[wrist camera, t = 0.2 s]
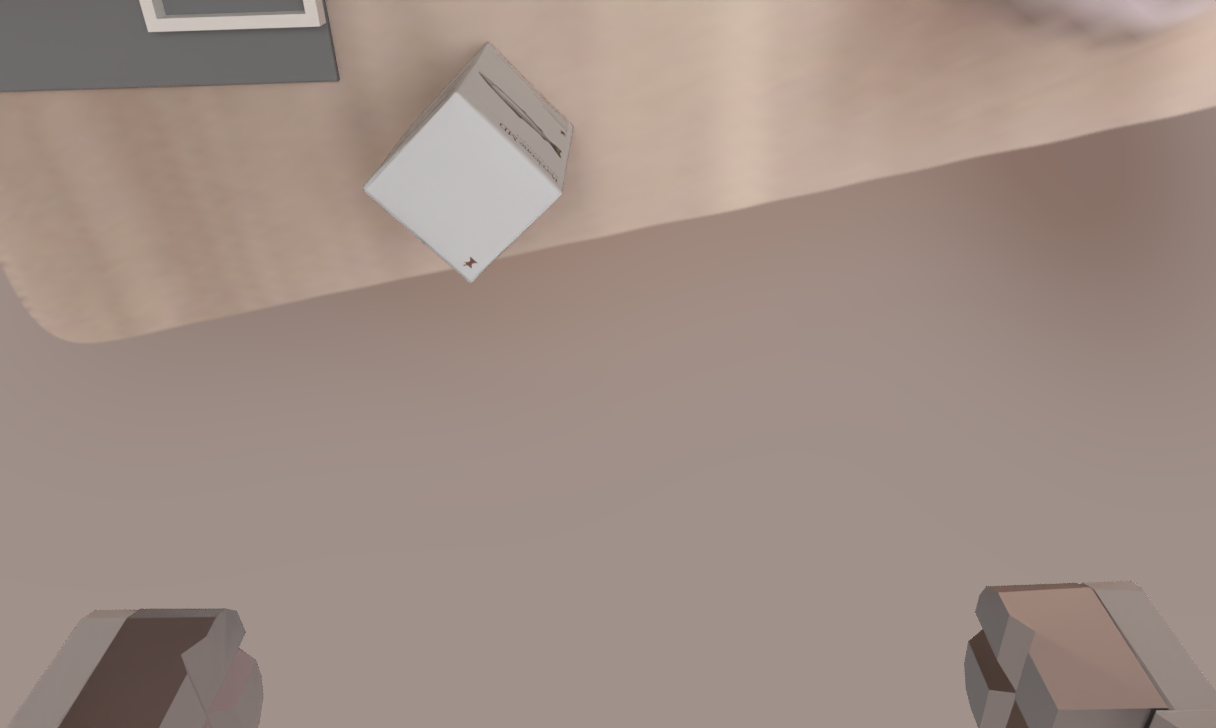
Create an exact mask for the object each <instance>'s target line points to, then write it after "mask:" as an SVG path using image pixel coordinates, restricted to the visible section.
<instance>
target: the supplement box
mask: <svg viewBox="0 0 1216 728" xmlns="http://www.w3.org/2000/svg"><path fill="white" fill-rule="evenodd" d="M572 132H573V126H572V125H571V124H570V123H569V122H568V121H567V120H566V119H565V118H564V117H562V116H561V115H560V114H559V113H558V112H557V111H556V110H555V109H554V108H553V107H552V106H551V105H550V104H549V103H548V102H547V101H546V100H545V99H544V98H543V97H541V96H540V94H539V93H538V92H537V91H536V90H535V89H534V88H533V87H532V86H531V85H530V84H529V83H528V82H527V81H526V80H525V79H524V78H523V77H522V76H521V75H520V74H519V73H518V72H517V71H516V70H515V69H514V68H513V67H512V66H511V65H510V64H509V63H508V61H507V60H506V59H505V58H504V57H503V56H502V55H501V54H500V53H499V52H498V51H497V50H496V48H495V47H494V46H493V45H492V44H491V43H490V42H487V43H486V44H485V45H484V46H483V47H482V48H481V50H480V51H479V52H478V53H477V54H476V55H475V56H474V57H473V58H472V59H471V60H470V62H469V63H468V64H467V65H466V66H465V67H464V68H463V69H462V70H461V71H460V72H459V73H458V74H457V75H456V77H455V78H454V79H453V80H452V81H451V82H450V83H449V84H448V85H447V86H446V87H445V89H444V90H443V91H442V92H441V93H440V94H439V95H438V96H437V97H436V98H435V100H434V101H433V102H432V103H431V104H430V105H429V106H428V107H427V109H426V110H425V111H424V112H423V113H422V114H421V115H420V116H419V118H418V119H417V120H416V121H415V122H414V123H413V124H412V126H411V127H410V128H409V130H408V131H407V132H406V133H405V134H404V135H403V137H402V138H401V139H400V141H399V142H398V143H397V145H396V146H395V147H394V149H393V150H392V151H391V152H390V154H389V155H388V157H387V158H386V159H385V161H384V162H383V163H382V164H381V166H380V167H379V168H378V170H377V171H376V172H375V173H374V175H373V176H372V177H371V178H370V179H369V180H368V181H367V182H366V183H365V184H364V186H363V190H364V191H365V193H366V194H367V195H368V196H370V197H371V198H372V199H373V200H374V201H375V202H377V203H378V204H379V205H380V206H381V207H383V208H384V209H385V210H386V211H387V212H388V213H389V214H391V215H392V216H393V217H394V218H395V219H396V220H398V221H399V222H400V223H401V224H402V225H403V226H405V227H406V228H407V229H408V230H409V231H410V232H411V233H412V234H414V235H415V236H416V237H417V238H418V239H419V240H420V241H421V242H422V243H423V244H425V245H426V246H428V247H429V248H430V249H431V250H432V251H433V252H435V253H436V254H437V255H438V256H439V257H440V258H442V259H443V260H444V261H445V262H446V263H447V264H448V265H450V266H451V267H452V268H453V269H454V270H455V271H456V272H458V273H459V274H460V275H461V276H462V277H463V278H464V279H465V280H466V281H468V282H469V283H472V282H473V281H474V280H475V279H476V278H477V277H478V276H479V275H480V274H481V273H482V272H483V271H484V270H485V269H486V268H487V267H488V266H489V265H490V264H491V263H492V262H493V261H494V260H495V259H496V258H497V257H498V256H499V255H500V254H501V253H502V252H503V251H504V250H505V249H506V248H507V247H508V246H509V245H510V244H511V243H512V242H513V241H514V240H516V239H517V238H518V237H519V236H520V235H521V234H522V233H523V232H524V231H525V230H526V229H527V228H528V227H529V226H530V225H531V224H532V223H533V222H534V221H535V220H536V219H537V218H538V217H539V216H540V215H541V214H542V213H543V212H544V211H545V210H546V209H547V208H548V207H549V206H550V205H552V204H553V203H554V202H555V201H556V200H557V199H558V198H559V197H560V196H561V194H562V190H563V184H564V178H565V173H566V167H567V161H568V155H569V149H570V144H571V139H572Z"/></svg>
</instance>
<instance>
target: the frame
mask: <svg viewBox="0 0 1216 728" xmlns="http://www.w3.org/2000/svg"><path fill="white" fill-rule="evenodd" d="M139 2H140V5H141V9H142V12H143V16H144V19H145V23H146V26H147V30H148V32H168V31H199V30H229V29H260V28H290V27H320V26H322V25H323V24H325V23H326V19H325V14H324V9H323V3H322V0H303V4H304V9H305V11H275V12H245V13H215V14H185V15H166V13H165V10H164V6H163V2H162V0H139Z"/></svg>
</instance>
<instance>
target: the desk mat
mask: <svg viewBox="0 0 1216 728" xmlns="http://www.w3.org/2000/svg"><path fill="white" fill-rule="evenodd" d="M162 2H163V6H164V10H165V13H166V15H185V14H215V13H245V12H275V11H305V9H304V4H303V0H162ZM322 3H323V9H324V14H325V19H326V23H325V24H323V25H322V26H320V27H290V28H260V29H229V30H199V31H168V32H148V30H147V26H146V23H145V19H144V16H143V12H142V9H141V5H140V2H139V0H0V91H31V90H63V89H95V88H126V87H158V86H190V85H222V84H254V83H285V82H317V81H338V80H339V74H338V68H337V63H336V57H335V52H334V47H333V41H332V36H331V30H330V25H329V19H328V14H327V8H326V3H325V0H322Z"/></svg>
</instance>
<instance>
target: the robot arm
mask: <svg viewBox="0 0 1216 728" xmlns="http://www.w3.org/2000/svg"><path fill="white" fill-rule="evenodd" d="M975 613H976V615H977V617H978V619H979V622H980V624H981V626H982V628H983V629H982V630H981V631H980V632H979V633H978V634H977V635H975V636H974V637H973V638H972V639H971V640H969V641H968V646H967V651H966V657H965V662H964V667H965V683H966V691H967V695H968V699H969V703H970V707H971V710H972V713H973V715H974V718H975V720H976V723H977V726H978V728H1216V691H1215V690H1214V689H1213V687H1212V685H1211V684H1210V683H1209V681H1208V680H1207V678H1206V677H1205V676H1204V674H1203V673H1202V671H1201V670H1200V669H1199V667H1198V666H1197V664H1196V663H1195V662H1194V660H1193V659H1192V657H1191V656H1190V655H1189V653H1188V652H1187V650H1186V649H1185V648H1184V646H1183V645H1182V644H1181V642H1180V641H1179V639H1178V638H1177V636H1176V635H1175V634H1174V632H1173V631H1172V629H1171V628H1170V627H1169V625H1168V624H1167V622H1166V621H1165V620H1164V618H1163V617H1162V616H1161V614H1160V613H1159V611H1158V610H1157V609H1156V607H1155V606H1154V604H1153V603H1152V601H1151V600H1150V599H1149V597H1148V596H1147V594H1146V593H1145V592H1144V590H1143V589H1142V588H1141V587H1140V586H1138V585H1136V584H1135V583H1134V582H1132V581H1116V582H1089V583H1081V584H1078V583H1062V584H1061V583H1060V584H1035V585H1009V586H986V588H985V589H984V590H983V591H982V593H981V594H980V595H979V599H978V603H977V607H976V611H975ZM245 633H246V632H245V629H244V627H243V624H242V622H241V620H240V617H239V615H238V613H237V611H235V610H229V609H139V610H94V611H93V612H91V613H90V614H88V615H87V616H85V617H84V618H82V619H81V620H80V621H79V623H78V624H77V626H76V627H75V628H74V630H73V631H72V633H71V634H70V636H69V637H68V639H67V640H66V641H65V643H64V644H63V646H62V647H61V649H60V650H59V652H58V653H57V655H56V656H55V658H54V659H53V660H52V662H51V664H50V665H49V666H48V668H47V669H46V671H45V672H44V673H43V675H42V676H41V678H40V679H39V681H38V682H37V684H36V685H35V686H34V688H33V689H32V691H31V692H30V694H29V695H28V697H27V698H26V700H25V701H24V702H23V704H22V705H21V707H20V708H19V710H18V711H17V713H16V714H15V715H14V717H13V719H12V720H11V722H10V723H9V724H8V726H7V727H6V728H258V725H259V722H260V715H261V708H262V702H263V687H262V676H261V673H260V670H259V667H258V664H257V662H256V660H255V659H254V658H252V657H251V656H250V655H248V654H247V653H246V652H244V651H243V650H241V649H240V648H239V646H240V644H241V642H242V639H243V637H244V635H245Z"/></svg>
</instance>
